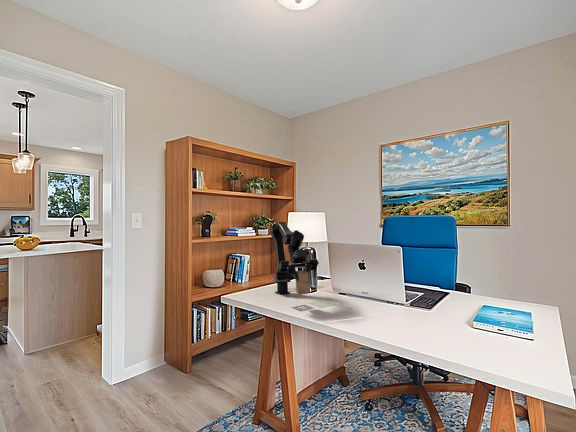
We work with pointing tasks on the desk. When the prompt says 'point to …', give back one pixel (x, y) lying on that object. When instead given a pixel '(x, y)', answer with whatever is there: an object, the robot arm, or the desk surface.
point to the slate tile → (302, 308)
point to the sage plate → (322, 303)
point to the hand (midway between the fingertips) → (303, 280)
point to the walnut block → (302, 282)
